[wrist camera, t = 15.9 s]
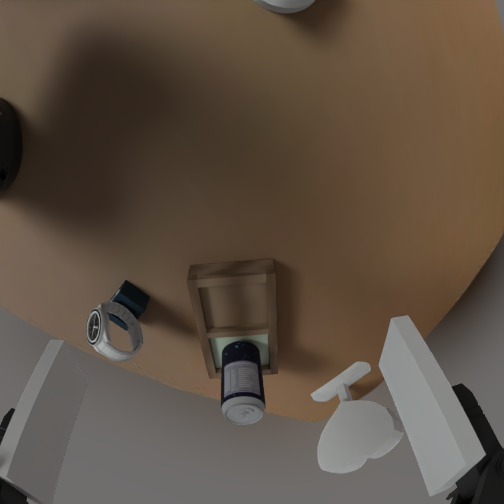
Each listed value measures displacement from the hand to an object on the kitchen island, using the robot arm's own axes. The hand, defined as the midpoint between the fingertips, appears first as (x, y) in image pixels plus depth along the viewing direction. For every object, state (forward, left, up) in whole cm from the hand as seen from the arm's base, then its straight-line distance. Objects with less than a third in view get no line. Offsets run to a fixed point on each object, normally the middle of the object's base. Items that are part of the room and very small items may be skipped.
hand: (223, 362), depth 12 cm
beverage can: (-1, -26, -26) cm, 37 cm away
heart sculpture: (+17, -41, -29) cm, 53 cm away
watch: (-17, -17, -29) cm, 38 cm away
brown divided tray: (-1, -22, -29) cm, 36 cm away
